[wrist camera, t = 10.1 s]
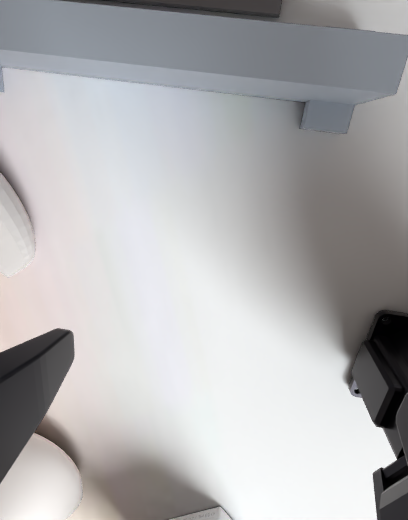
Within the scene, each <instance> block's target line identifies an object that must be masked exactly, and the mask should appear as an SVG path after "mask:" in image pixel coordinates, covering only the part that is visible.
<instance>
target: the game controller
mask: <svg viewBox="0 0 408 520" xmlns="http://www.w3.org/2000/svg"><path fill="white" fill-rule="evenodd" d="M35 251H36V242H35V236H34V231H33V228H32V225H31V222H30V219H29V217H28V215H27V212H26V210H25V208H24V206H23V205H22V203H21V201H20V199H19V198H18V196H17V194H16V193H15V191H14V190H13V188H12V187H11V185H10V184H9V183H8V181H7V180H6V179H5V177H4V176H3V175H2V174H1V173H0V273H2V274H3V275H5V276H6V277H8V278H9V277H11V276H13V275H14V274H16V273H18V272H19V271H21V270H22V269H24V268H25V267H26V266H28V265H29V264H30V263H31V262H32V260H33V258H34V255H35Z"/></svg>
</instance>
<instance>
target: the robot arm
mask: <svg viewBox="0 0 408 520" xmlns="http://www.w3.org/2000/svg"><path fill="white" fill-rule="evenodd" d="M385 317H388V319H387V320H385V321H382V319H383V318H385ZM73 360H74V336H73V332H72V331H70V330H66V329H60V328H57V329H54V330H52V331H50V332H47V333H45V334H43V335H40V336H38V337H36V338H33V339H31V340H29V341H26V342H24V343H22V344H19V345H17V346H15V347H12V348H10V349H8V350H5V351H3V352H1V353H0V484H1V482H2V481H3V479H4V478H5V476H6V474H7V473H8V471H9V470H10V468H11V467H12V465H13V464H14V462H15V461H16V459H17V458H18V456H19V455H20V453H21V451H22V450H23V448H24V447H25V445H26V444H27V442H28V441H29V439H30V438H31V436H32V435H33V433H34V432H35V430H36V429H37V427H38V425H39V424H40V422H41V421H42V419H43V418H44V416H45V414H46V413H47V411H48V409H49V407H50V405H51V403H52V401H53V400H54V398H55V396H56V394H57V392H58V390H59V388H60V386H61V384H62V382H63V380H64V378H65V376H66V374H67V372H68V371H69V369H70V367H71V365H72V363H73ZM351 373H352V378H351V381H350V383H349V387H348V388H349V390H350V392H351V394H352V395H353V396H355V397H360V398H363V401H364V403H365V405H366V408H367V410H368V412H369V414H370V417H371V419H372V421H373V423H374V424H375V425H376V427H381V428H383V430H384V432H385V434H386V436H387V439H388V441H389V443H390V445H391V447H392V450H393V452H394V454H395V456H396V458H397V460H396V461H395V462H393V463H392V464H390V465H389V466H387V467H385V468H382V467H381V468H380V469H378V470H377V471H375V472H374V473H373V482H374V492H375V502H376V511H377V520H408V314H407V313H401V312H395V311H389V310H382V311H379V312H378V313H377V314H376V316H375V318H374V321H373V323H372V326H371V328H370V331H369V334H368V336H367V339H366V340H365V341H363V342H362V345H361V347H360V350H359V353H358V355H357V358H356V361H355V363H354V366H353V368H352V371H351ZM356 388H358V389H356Z"/></svg>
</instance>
